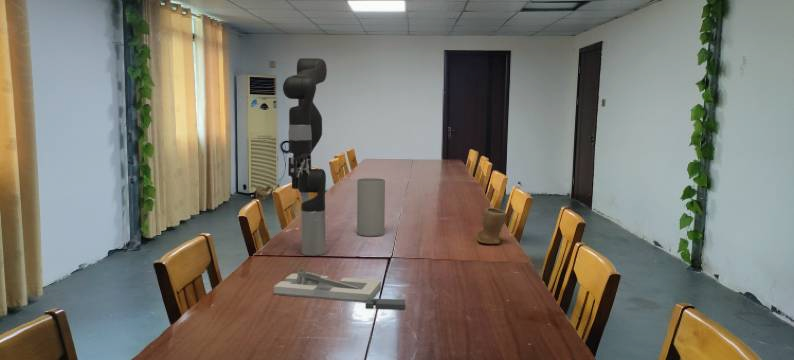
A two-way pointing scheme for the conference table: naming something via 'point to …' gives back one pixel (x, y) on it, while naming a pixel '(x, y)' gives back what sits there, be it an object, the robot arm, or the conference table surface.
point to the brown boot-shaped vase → (491, 226)
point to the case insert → (329, 289)
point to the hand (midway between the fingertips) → (300, 187)
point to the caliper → (320, 280)
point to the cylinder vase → (370, 207)
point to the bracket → (385, 304)
